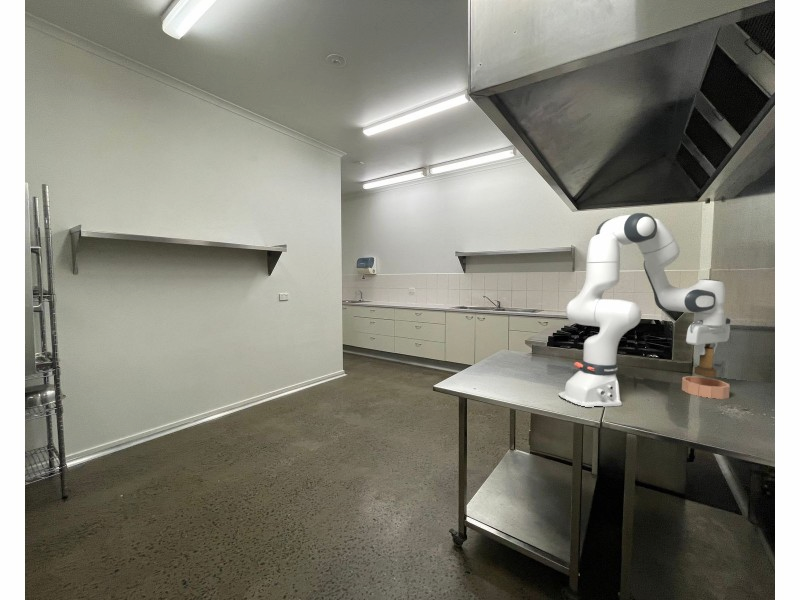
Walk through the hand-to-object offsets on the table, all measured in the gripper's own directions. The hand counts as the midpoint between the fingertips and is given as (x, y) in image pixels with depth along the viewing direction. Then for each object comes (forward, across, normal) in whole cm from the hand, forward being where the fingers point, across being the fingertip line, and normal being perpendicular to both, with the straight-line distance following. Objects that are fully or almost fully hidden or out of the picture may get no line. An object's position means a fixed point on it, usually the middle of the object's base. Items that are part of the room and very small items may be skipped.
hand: (706, 354), depth 133 cm
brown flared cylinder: (+9, 0, 0) cm, 9 cm away
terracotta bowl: (+16, 0, 0) cm, 16 cm away
